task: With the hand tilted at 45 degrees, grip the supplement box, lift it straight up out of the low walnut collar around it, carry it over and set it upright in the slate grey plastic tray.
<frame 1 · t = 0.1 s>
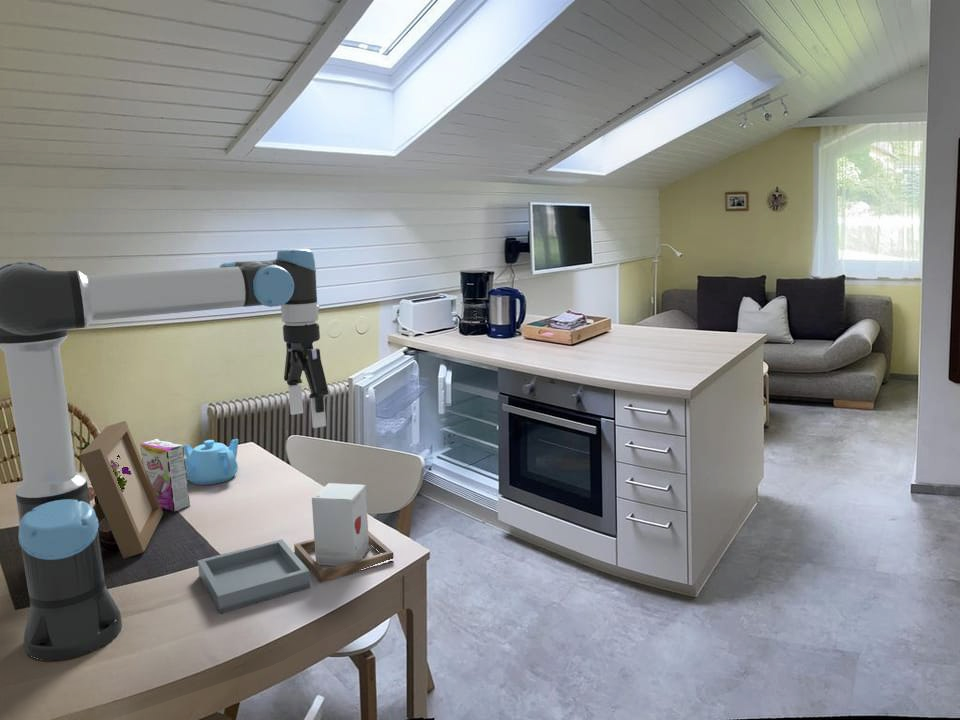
hand: (307, 420, 164), 28 cm above the table, tool pointing down, fingers open, 13 cm apart
photo frame: (120, 540, 173), on the table
candy bar box: (168, 506, 192), on the table
walnut collar: (343, 557, 161), on the table
teapot: (212, 478, 212), on the table
supplement box: (343, 558, 161), resting in walnut collar
grey tray: (253, 581, 151), on the table
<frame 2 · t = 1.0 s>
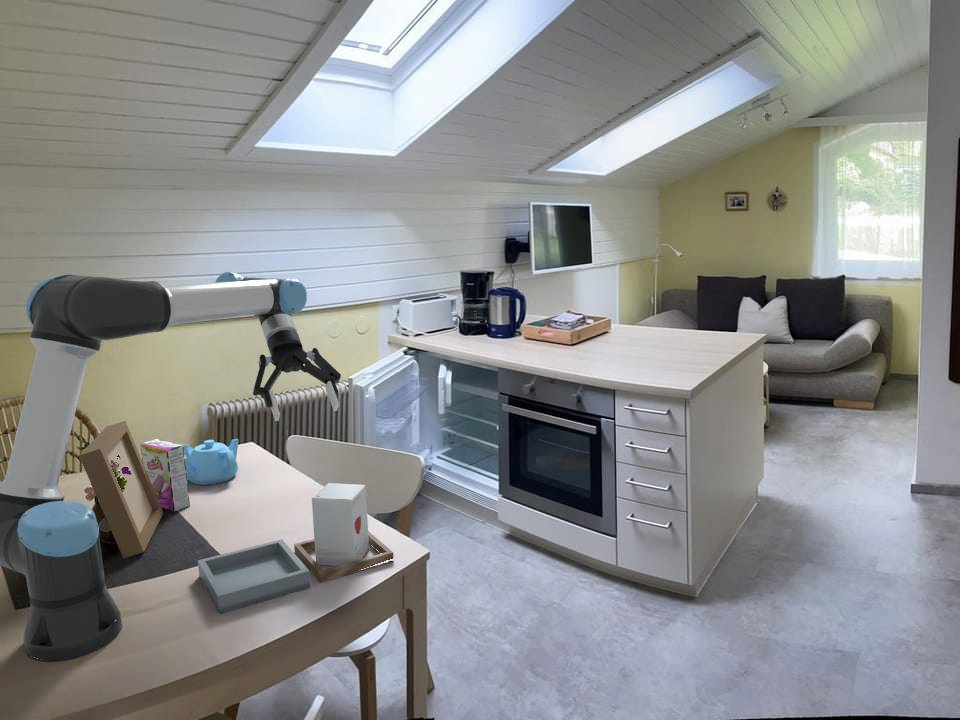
hand: (307, 413, 170), 28 cm above the table, tool tilted 45°, fingers open, 13 cm apart
nothing on the table moved.
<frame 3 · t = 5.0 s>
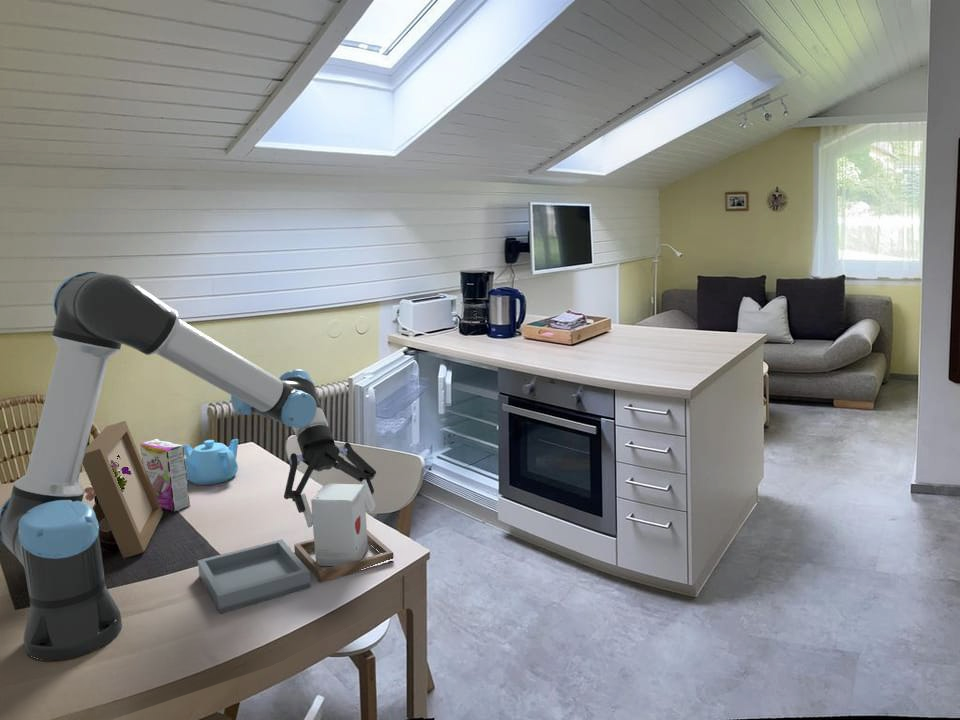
hand: (343, 517, 160), 9 cm above the table, tool tilted 45°, fingers open, 13 cm apart
supplement box: (343, 557, 161), resting in walnut collar, touching gripper
everything else where it was.
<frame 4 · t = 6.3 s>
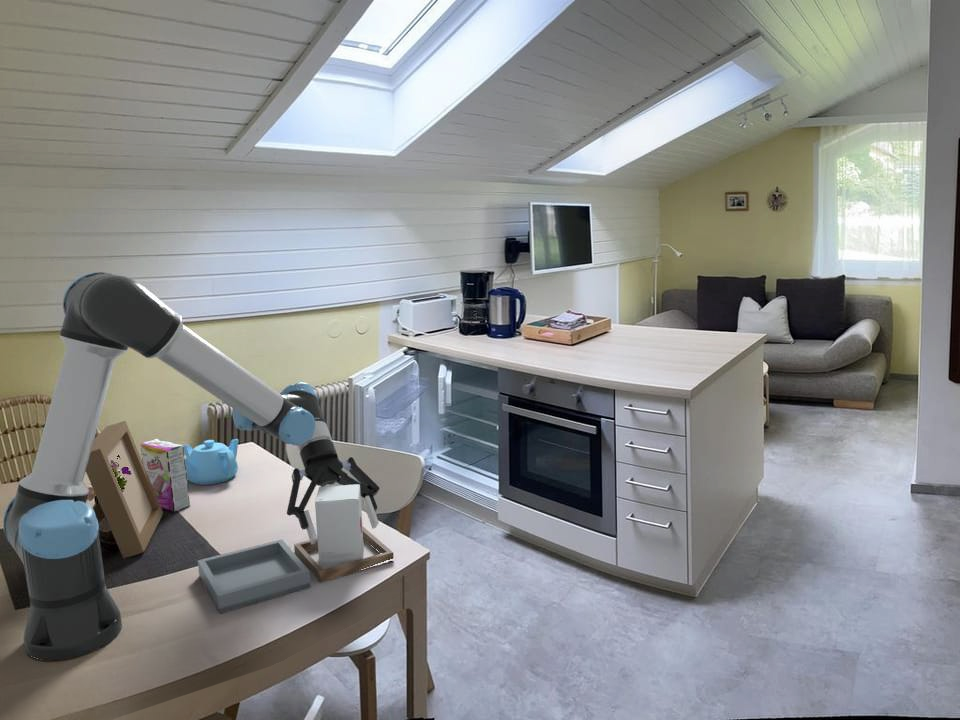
hand: (345, 533, 158), 6 cm above the table, tool tilted 45°, fingers open, 13 cm apart
supplement box: (342, 559, 160), resting in walnut collar
everything else where it was.
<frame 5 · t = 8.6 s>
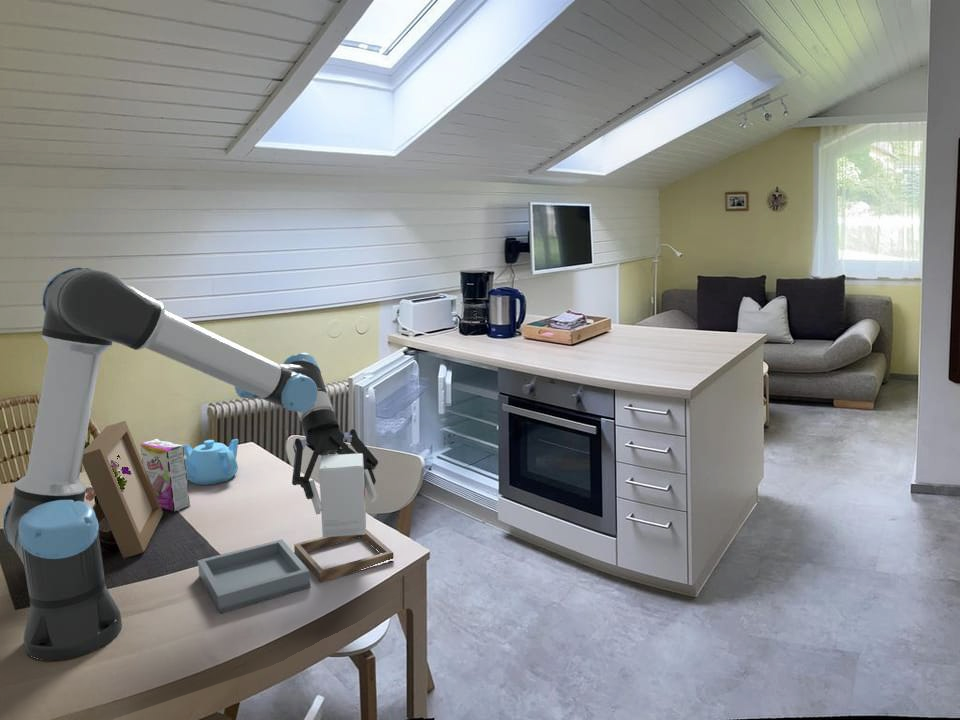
hand: (347, 505, 157), 12 cm above the table, tool tilted 45°, fingers closed on supplement box, 11 cm apart
supplement box: (345, 528, 160), point 6 cm above the table, touching gripper
everything else where it was.
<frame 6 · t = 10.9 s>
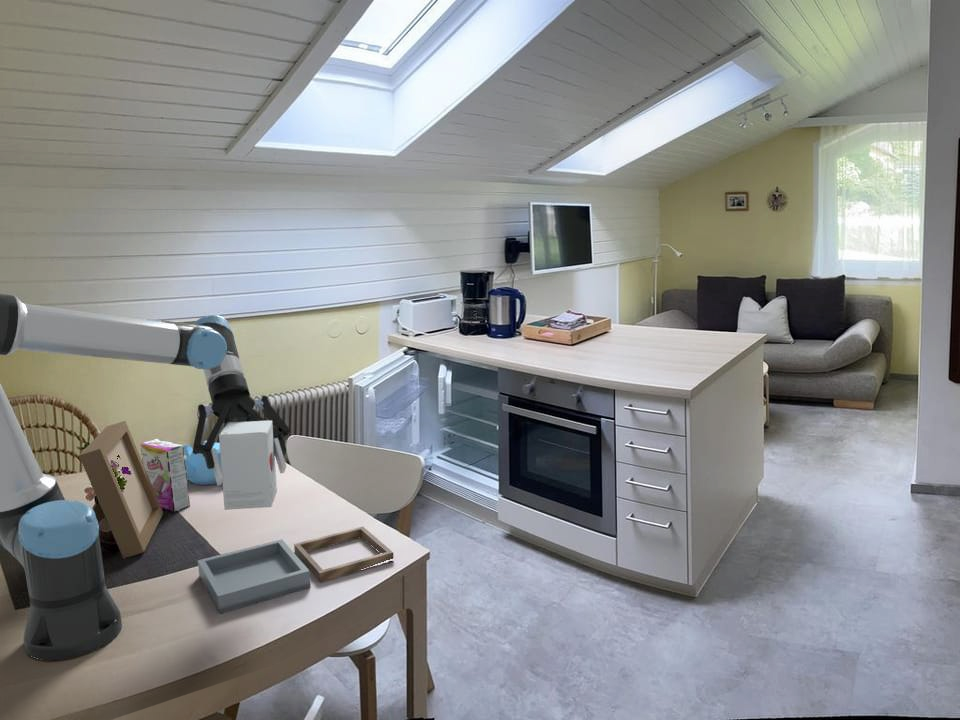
hand: (252, 475, 145), 23 cm above the table, tool tilted 45°, fingers closed on supplement box, 11 cm apart
supplement box: (252, 501, 148), point 17 cm above the table, touching gripper
everything else where it was.
when the fingers open (8 cm above the table, at t = 15.0 s): supplement box drops 1 cm, resting on grey tray.
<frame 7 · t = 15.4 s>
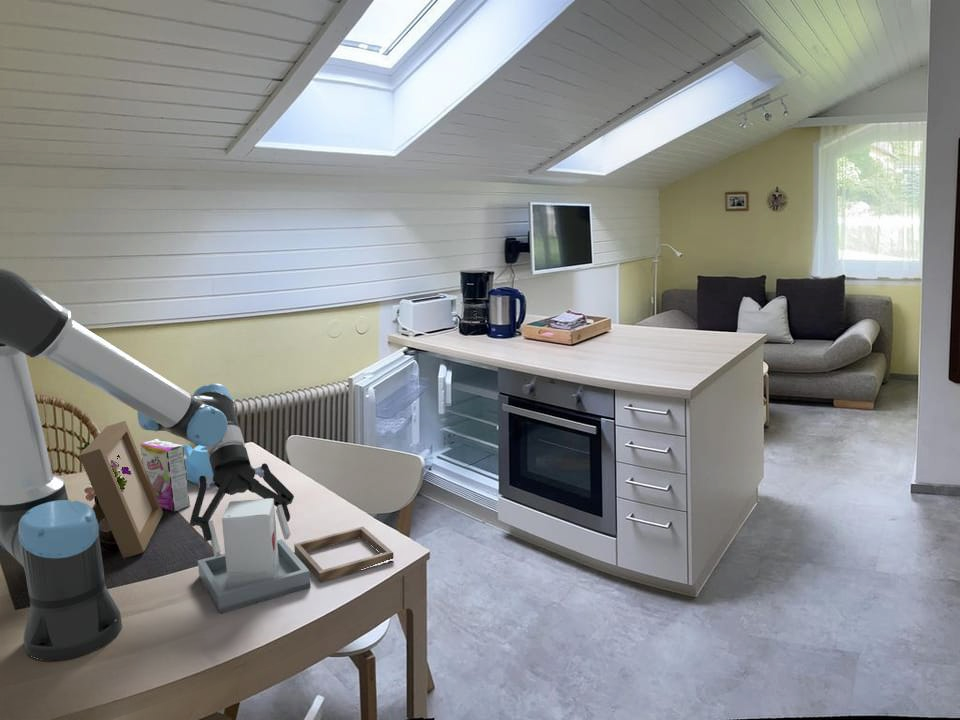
hand: (253, 545, 148), 9 cm above the table, tool tilted 45°, fingers open, 13 cm apart
supplement box: (255, 579, 151), point 1 cm above the table, touching grey tray
everything else where it was.
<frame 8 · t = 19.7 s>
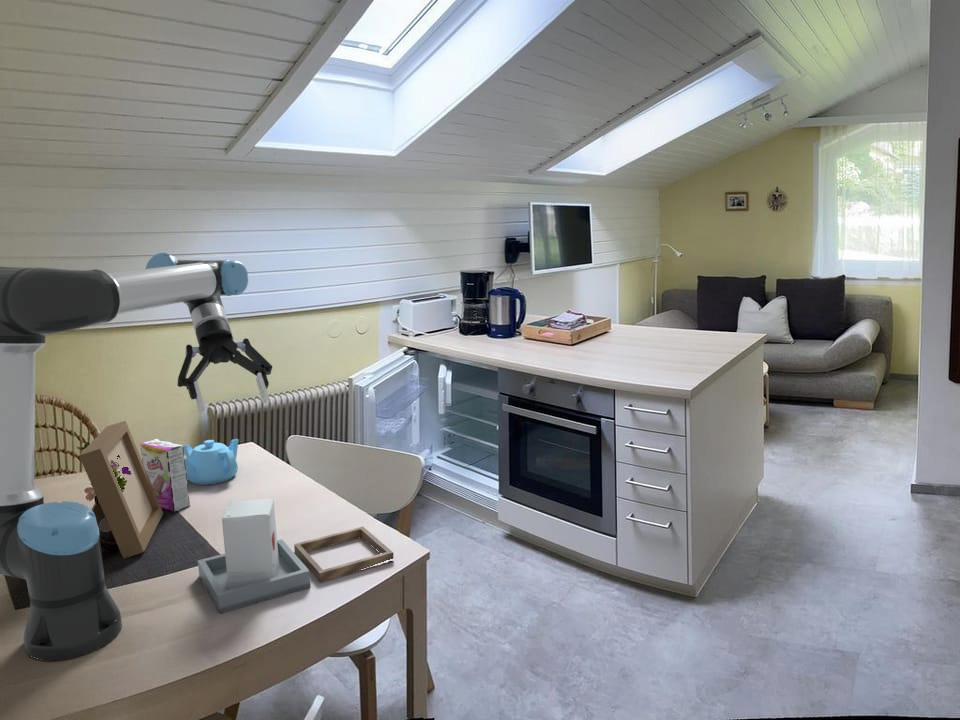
hand: (234, 405, 163), 32 cm above the table, tool tilted 45°, fingers open, 13 cm apart
nothing on the table moved.
at the end: supplement box inside the target area on the grey tray (0.6 cm from its centre), point 0.8 cm above the grey tray's base; supplement box tilted 0°; the gripper is holding nothing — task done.
